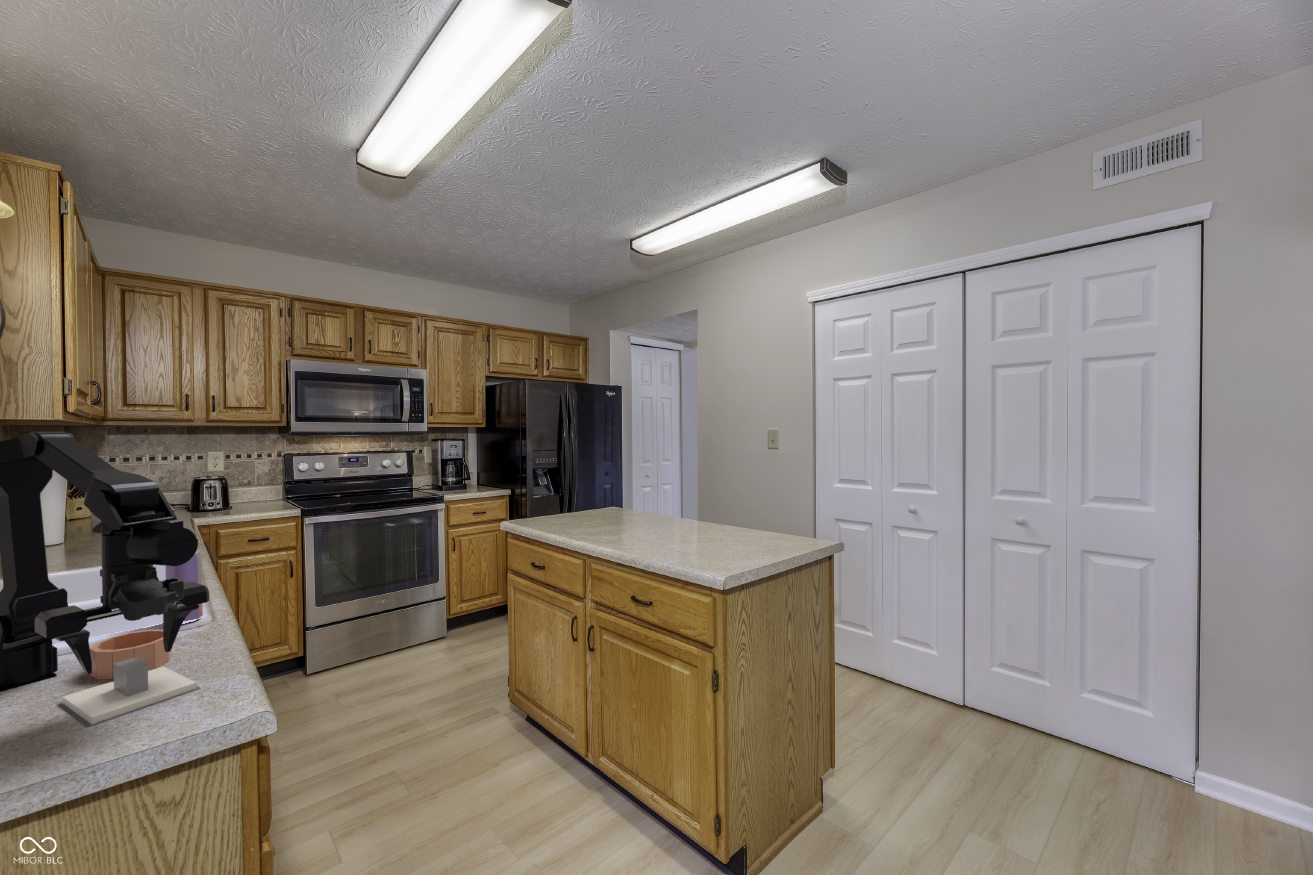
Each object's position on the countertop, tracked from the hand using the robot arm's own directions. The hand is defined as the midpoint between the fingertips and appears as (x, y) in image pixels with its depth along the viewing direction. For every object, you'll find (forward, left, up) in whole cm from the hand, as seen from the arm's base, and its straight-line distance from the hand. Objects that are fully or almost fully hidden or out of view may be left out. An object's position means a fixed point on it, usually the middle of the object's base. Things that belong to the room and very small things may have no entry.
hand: (129, 662), depth 85 cm
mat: (0, 0, -6) cm, 6 cm away
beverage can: (+20, +35, -6) cm, 40 cm away
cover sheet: (0, 0, -5) cm, 5 cm away
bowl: (+5, +14, -6) cm, 16 cm away
